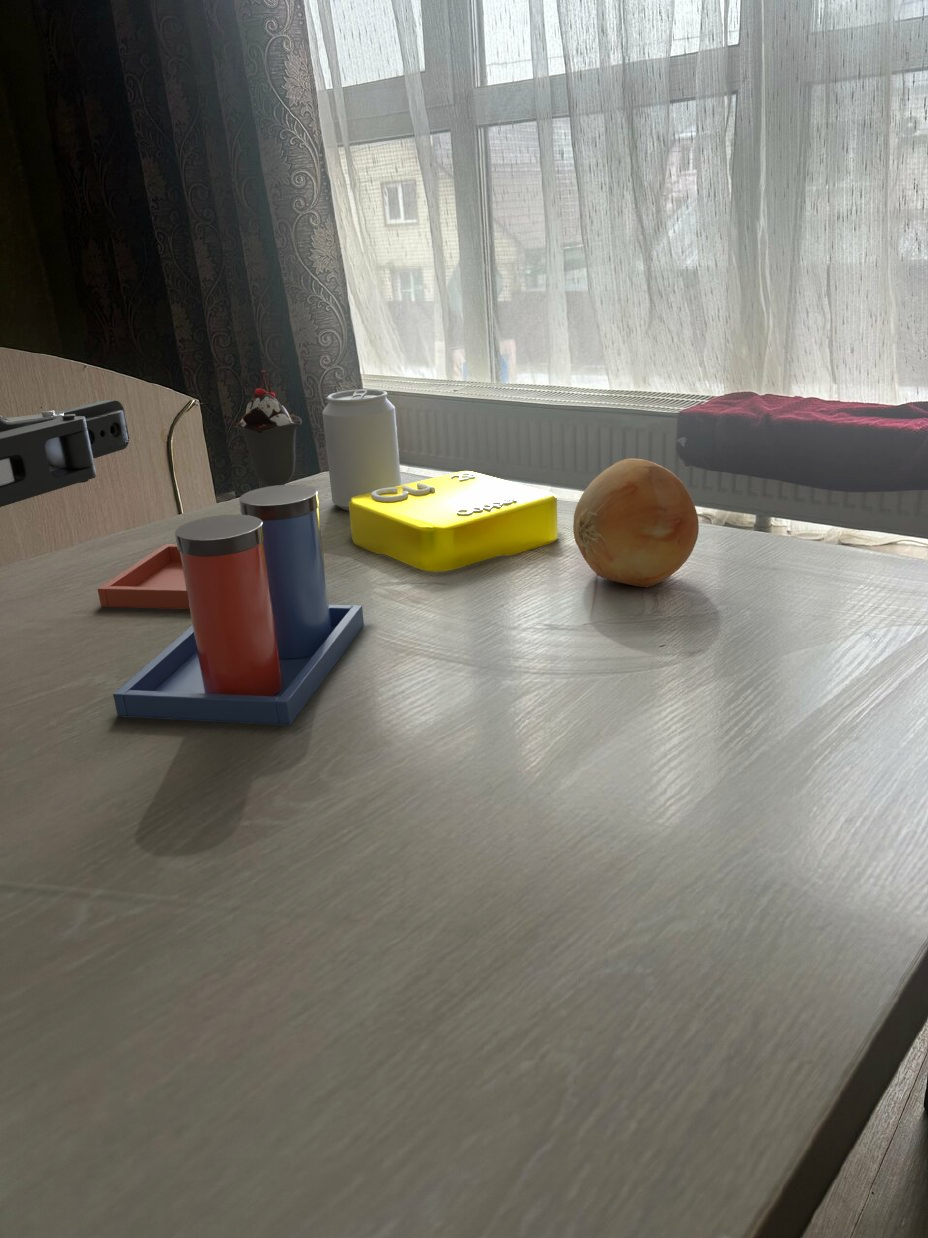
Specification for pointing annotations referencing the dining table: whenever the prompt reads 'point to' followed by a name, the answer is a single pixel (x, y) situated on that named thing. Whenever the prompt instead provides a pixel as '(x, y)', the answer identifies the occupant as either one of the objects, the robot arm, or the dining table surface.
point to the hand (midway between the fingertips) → (51, 420)
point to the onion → (636, 523)
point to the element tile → (453, 520)
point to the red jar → (231, 604)
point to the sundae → (269, 437)
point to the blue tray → (180, 694)
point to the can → (360, 444)
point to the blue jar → (293, 565)
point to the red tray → (149, 583)
